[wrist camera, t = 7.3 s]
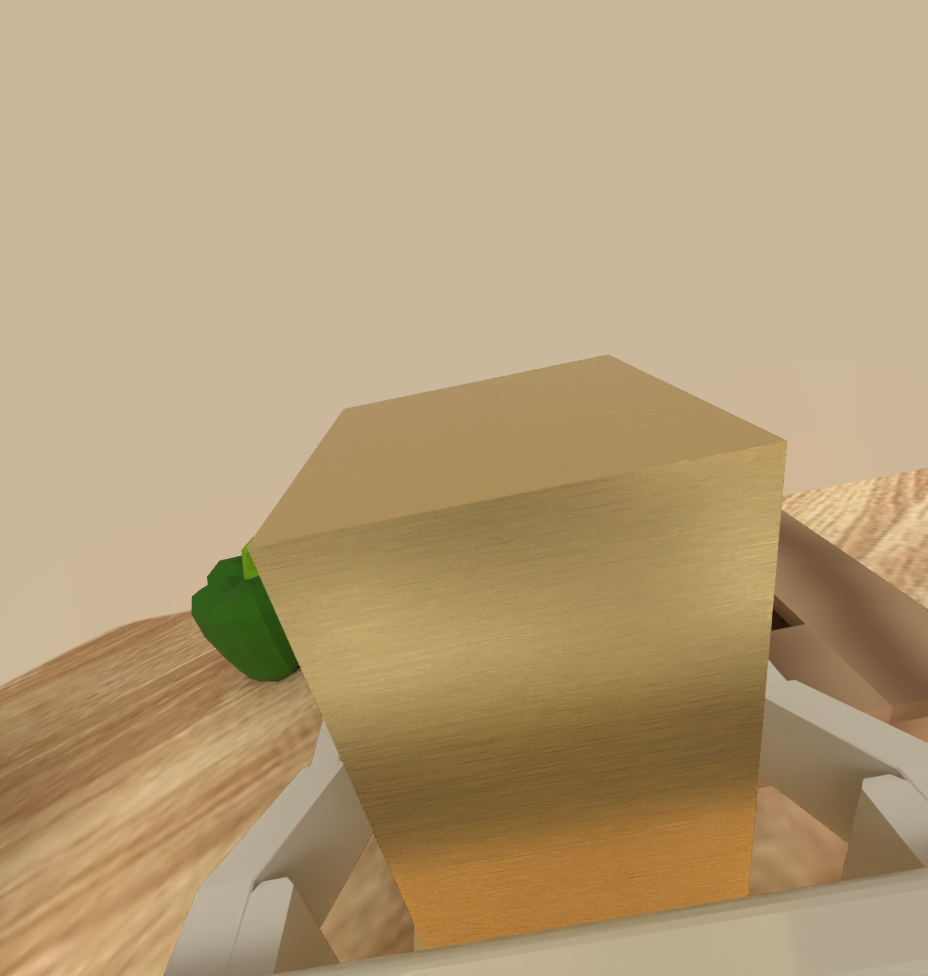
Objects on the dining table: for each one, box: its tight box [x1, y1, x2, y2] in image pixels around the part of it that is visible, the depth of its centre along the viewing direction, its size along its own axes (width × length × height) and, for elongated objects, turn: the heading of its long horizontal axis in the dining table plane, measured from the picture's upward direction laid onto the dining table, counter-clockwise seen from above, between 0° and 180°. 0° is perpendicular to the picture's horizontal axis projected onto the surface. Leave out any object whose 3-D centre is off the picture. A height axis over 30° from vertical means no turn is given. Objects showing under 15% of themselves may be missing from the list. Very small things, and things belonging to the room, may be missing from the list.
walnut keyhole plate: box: [757, 510, 928, 788], centre depth 28 cm, size 26×16×4 cm, turn 93°
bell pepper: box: [192, 537, 299, 681], centre depth 34 cm, size 8×8×10 cm
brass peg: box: [247, 355, 787, 951], centre depth 10 cm, size 8×8×14 cm
